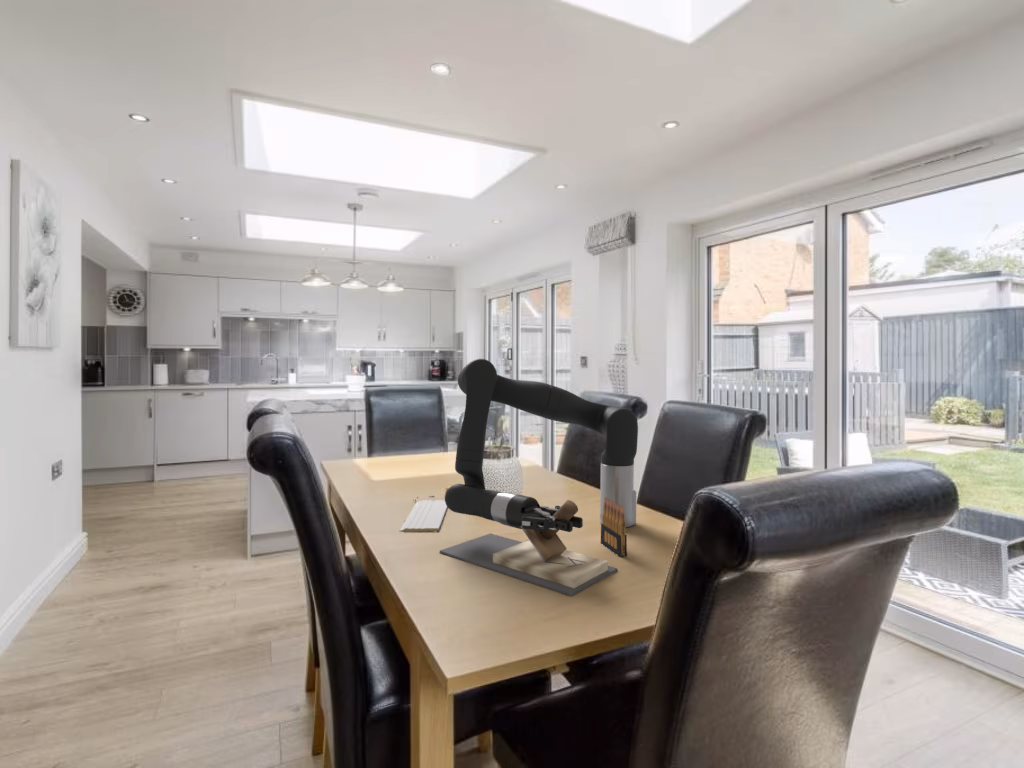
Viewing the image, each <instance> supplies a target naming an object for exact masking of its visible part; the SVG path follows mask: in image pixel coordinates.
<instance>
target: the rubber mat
mask: <svg viewBox="0 0 1024 768" xmlns="http://www.w3.org/2000/svg"><path fill="white" fill-rule="evenodd" d="M523 542H524V541H519V540H515V539H512V538H508V537H506V536H502V535H501V536H500V535H498V534H493V533H487V534H485V535H481V536H478V537H475V538H472V539H470V540H466V541H464V542H460V543H458V544H456V545H453V546H449V547H446V548H443V549H439V553H440V554H443V555H445V556H448V557H452V558H455V559H457V560H458V559H459V560H461V561H464V562H467V563H470V564H473V565H476V566H479V567H481V566H482V568H484V569H487V570H491V571H494V572H497V573H500V574H503V575H506V576H509V577H512V578H516V579H519V580H521V581H524V582H527V583H531V584H533V585H537V586H539V587H542V588H546V589H549V590H551V591H555V592H557V593H561V594H563V595H566V594H567V596H568V597H569V596H570V597H572V596H574V595H576V594H578V593H579V592H582V591H583V590H585V589H586V588H588V587H590V586H592V585H594V584H596V583H598V582H599V581H601V580H602V579H604V578H606V577H608V576H610V575H612V574H614V573H616V572H618V568H617V567H614V566H611V565H608V570H607V571H605V572H604V573H602V574H600V575H598V576H596V577H594V578H592V579H591V580H589V581H587V582H585V583H583V584H581V585H580V586H578V587H576V588H571V587H568V586H565V585H562V584H559V583H556V582H552V581H549V580H546V579H543V578H540V577H537V576H534V575H530V574H527V573H524V572H521V571H518V570H515V569H512V568H508V567H505V566H502V565H499V564H496V563H493V554H494V553H496V552H499V551H502V550H504V549H507V548H509V547H512V546H515V545H517V544H520V543H523ZM615 571H616V572H615Z"/></svg>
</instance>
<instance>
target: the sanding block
mask: <svg viewBox="0 0 1024 768" xmlns="http://www.w3.org/2000/svg"><path fill="white" fill-rule="evenodd" d="M578 512H579V508H578V506H577V504H576V503H575V501H572V500H569V499H568V500H566V501H565V502H564V503H563V504H562V505H561V506H560V508H559V509H558V510H557V511H556V513H555V514H554V515H553V517H556V520H557V519H558V518H559V519H564V520H568V521H569V520H570V519H571V518H572V517H573V516H576V514H577V513H578ZM520 527H521V528H522V522H521V526H520ZM522 529H523V528H522ZM522 529H521V530H522ZM522 531H523V533H524V534H525V536H526V537H527V539H528V540H530V541H531V543H532V544H533V546H534V547H535V549H536V550H537V552H538V553H539V555H540V556H541V558H542V559H543V561H544V562H546V561H548V560H550V559H553V558H555V557H557V556H559V555H561V554H562V553H563V552H564V551H565V550H568V549H567V547H566V545H565V544H564V543H563V541H562V540H561V538H560V537H559V535H558V534H557V533H558V532H559V531H560V530H558V529H556V530H552V529H549V531H540V530H531V529H523V530H522Z"/></svg>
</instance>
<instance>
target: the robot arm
mask: <svg viewBox="0 0 1024 768" xmlns="http://www.w3.org/2000/svg"><path fill="white" fill-rule="evenodd" d="M457 376H458V377H457V384H458V387H459V389H460V390H461V392H462V393H463V394H464V395H465V409H464V414H463V418H462V424H461V427H460V431H459V435H458V440H457V445H456V453H455V460H454V461H455V463H454V469H455V472H456V473H457V474H459V475H461V476H462V477H463V481H464V483H455V484H453V485H451V486H449V487H448V488H447V490H446V491H445V494H444V500H445V503H446V505H447V509H449V511H451V512H453V513H457V514H461V515H466V516H467V515H468V516H475V517H479V518H482V519H485V520H488V521H492V522H497V523H499V524H500V525H503V526H507V527H510V528H515V529H518V530H522V531H523V529H531V530H540V531H549V529H552V530H556V529H558V530H559V531H562V532H566V533H571V532H572V531H573V529H574V528H577V529H581V528H583V526H584V525H583V524H584V521H583V518H582V517H579V516H576V515H574V516H573V517H572V518H571V519H570V520H569V521H568V520H564V519H559V518H558V519H557V520H556V517H553V515H554V514H555V513H556V511H557V510H558V509H559V508H560V507H561V506H560V505H555V506H554V508H553V507H549V506H546V505H540V504H539V501H538V500H537V499H536V498H535V497H532V496H527V495H522V494H519V493H518V494H517V493H512V492H503V491H498V490H493V489H486V485H485V478H484V473H483V466H484V465H483V464H484V454H485V445H486V435H487V434H486V433H487V425H488V418H489V411H490V407H491V403H492V402H496V403H500V404H503V405H507V406H509V407H512V408H513V409H517V410H519V411H522V412H526V413H528V414H531V415H534V416H537V417H540V418H543V419H546V420H549V421H553V422H554V421H555V422H559V423H564V424H572V425H579V426H581V427H585V428H587V429H590V430H592V431H594V432H596V433H599V434H601V435H603V436H605V437H606V442H605V450H603V452H601V455H600V491H599V492H600V495H599V496H600V497H599V498H600V499H599V500H600V501H599V502H600V505H599V506H600V509H599V510H600V511H599V512H600V513H599V514H600V515H599V523H600V525H601V524H602V514H603V505H604V499H605V497H607V500H608V499H610V502H611V501H612V500H613V503H615V502H616V504H617V506H618V504H620V508H621V506H623V508H624V513H625V528H630V527H632V526H634V525H637V491H636V490H634V483H635V482H634V480H635V479H634V478H635V475H634V471H635V466H634V464H635V457H636V455H637V451H638V440H639V438H638V436H639V434H638V433H639V423H638V419H637V416H636V414H635V413H634V411H632V410H630V409H629V408H625V407H621V406H617V405H616V406H615V405H608V404H607V405H606V404H602V403H597V402H593V401H589V400H586V399H585V398H582V397H581V396H578V395H577V394H575V393H573V392H571V391H568V390H567V389H564V388H561V387H559V386H556V385H553V384H549V383H547V382H540V381H533V380H521V379H512V378H508V377H505V376H503V375H500V374H497V368H496V366H495V365H494V364H493V363H492V362H491V361H490V360H487V359H486V358H477V359H473V360H472V361H469V362H468V363H467V364H466V365H464V367H463V368H462V369H461V371H460V372H459V374H458V375H457ZM521 522H522V528H523V529H522V528H521V527H520V526H521Z"/></svg>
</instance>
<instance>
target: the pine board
mask: <svg viewBox="0 0 1024 768" xmlns="http://www.w3.org/2000/svg"><path fill="white" fill-rule="evenodd" d="M522 542H523V543H520V544H517V545H515V546H512V547H509V548H507V549H504V550H502V551H499V552H496V553H494V554H493V563H496V564H499V565H502V566H505V567H508V568H512V569H515V570H518V571H521V572H524V573H527V574H530V575H534V576H537V577H540V578H543V579H546V580H549V581H552V582H556V583H559V584H562V585H565V586H568V587H571V588H576V587H578V586H580V585H581V584H583V583H585V582H587V581H589V580H591V579H592V578H594V577H596V576H598V575H600V574H602V573H604V572H605V571H607V570H608V566H609V561H608V560H604V559H600V558H597V557H593V556H589V555H587V554H582V553H579V552H574V551H570V550H568V549H566V550H565V551H564V552H563V553H562V554H561V555H559V556H557V557H555V558H553V559H550V560H548V561H546V562H544V561H543V559H542V558H541V556H540V555H539V553H538V552H537V550H536V549H535V547H534V546H533V544H532V543H531V541H530V540H529V539H528V540H526V541H522Z"/></svg>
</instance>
